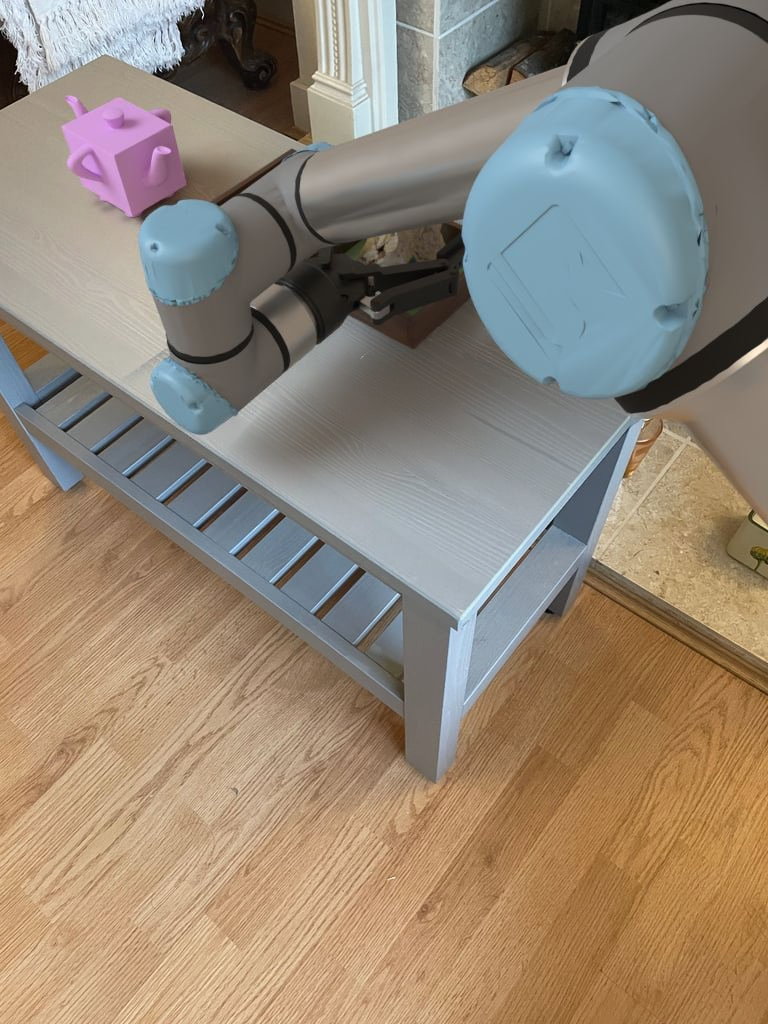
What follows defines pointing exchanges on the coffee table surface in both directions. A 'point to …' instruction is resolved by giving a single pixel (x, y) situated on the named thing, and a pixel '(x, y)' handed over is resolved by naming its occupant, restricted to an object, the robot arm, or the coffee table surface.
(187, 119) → the coffee table surface
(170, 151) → the teapot
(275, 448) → the coffee table surface
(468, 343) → the coffee table surface
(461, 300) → the divided wooden tray
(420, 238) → the rock
